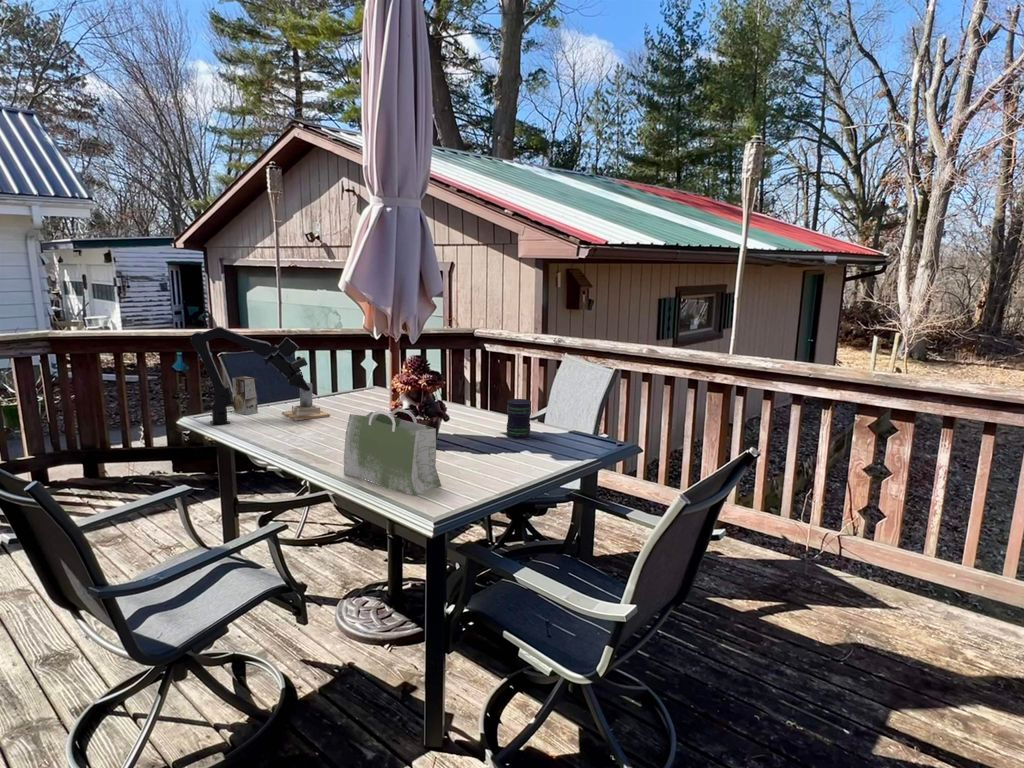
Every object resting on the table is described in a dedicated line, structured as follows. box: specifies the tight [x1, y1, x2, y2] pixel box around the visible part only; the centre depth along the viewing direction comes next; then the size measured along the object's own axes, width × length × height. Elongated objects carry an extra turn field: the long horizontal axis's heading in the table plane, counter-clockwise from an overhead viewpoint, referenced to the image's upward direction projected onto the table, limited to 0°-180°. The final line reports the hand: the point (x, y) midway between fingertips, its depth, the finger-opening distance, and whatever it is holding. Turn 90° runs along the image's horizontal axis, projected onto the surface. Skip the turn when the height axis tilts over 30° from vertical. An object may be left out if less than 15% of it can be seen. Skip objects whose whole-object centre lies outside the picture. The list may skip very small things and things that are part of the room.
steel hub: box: [299, 382, 314, 407], centre depth 276 cm, size 5×5×10 cm
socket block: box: [281, 404, 331, 422], centre depth 284 cm, size 16×16×4 cm
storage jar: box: [506, 398, 532, 440], centre depth 259 cm, size 10×10×15 cm
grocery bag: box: [343, 407, 442, 497], centre depth 199 cm, size 32×14×23 cm, turn 56°
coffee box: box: [232, 375, 259, 416], centre depth 285 cm, size 9×6×16 cm
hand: (309, 389), depth 276 cm, fingers closed on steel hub, 5 cm apart
